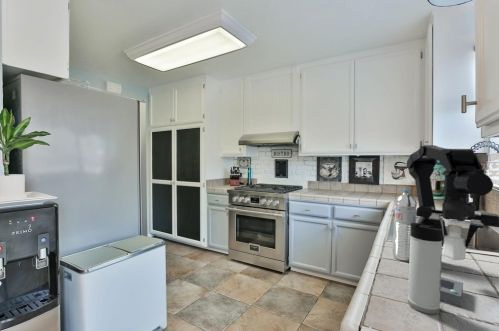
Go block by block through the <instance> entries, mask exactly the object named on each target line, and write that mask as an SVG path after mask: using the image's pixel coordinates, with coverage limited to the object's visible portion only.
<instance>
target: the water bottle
mask: <svg viewBox="0 0 499 331" xmlns="http://www.w3.org/2000/svg"><path fill="white" fill-rule="evenodd" d="M409 192H410V190H409V189H402V194H400V195H398V196H397V197H396V198H395V200H394V220H393V235H392V236H393V237H392V238H393V241H392V256H393V258H394V259H396V260H399V261H402V262H409V258H410V238H411V237H410V235H411V226H410V224H411V223H417V222H416V220H417V216H416V210H417V204H418V202H417V201H416V200H415V198H414V197H413V196H412V195H411V194H409Z"/></svg>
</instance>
